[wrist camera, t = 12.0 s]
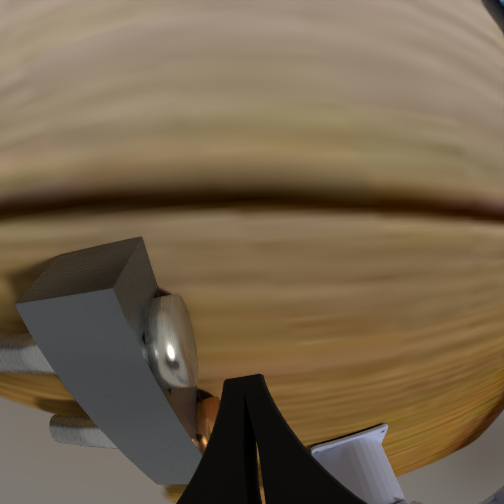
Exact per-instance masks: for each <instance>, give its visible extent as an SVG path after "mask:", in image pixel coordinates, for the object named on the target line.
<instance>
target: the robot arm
mask: <svg viewBox="0 0 504 504" xmlns="http://www.w3.org/2000/svg"><path fill="white" fill-rule="evenodd" d="M387 429H388V425H387V424H382V425H380V426H377V427H374V428H372V429H369V430H366V431H363V432H360V433H357V434H354V435H351V436H347V437H344V438H341V439H337V440H334V441H330V442H327V443H323V444H319V445H316V446H313V447H312V448H311V453H310V452H309V451H308V450H307V449H306V448H305V446H304V445H303V444H302V443H301V442H300V440H299V439H298V438H297V436H296V435H295V434H294V432H293V431H292V430H291V428H290V427H289V425H288V424H287V422H286V421H285V419H284V418H283V416H282V414H281V413H280V411H279V410H278V408H277V406H276V404H275V403H274V401H273V399H272V397H271V395H270V393H269V390H268V388H267V386H266V383H265V380H264V376H263V375H262V374H255V375H250V376H244V377H238V378H231V379H226V380H225V381H224V383H223V391H222V396H221V401H220V405H219V409H218V413H217V417H216V420H215V423H214V426H213V430H212V433H211V435H210V438H209V441H208V443H207V446H206V449H205V451H204V454H203V456H202V458H201V460H200V463H199V465H198V467H197V469H196V471H195V473H194V475H193V477H192V478H191V480H190V482H189V484H188V486H187V487H186V489H185V491H184V492H183V494H182V496H181V497H180V499H179V500H178V502H177V503H176V504H262V500H261V495H260V488H259V479H258V463H257V446H258V451H259V458H260V465H261V472H262V480H263V487H264V494H265V502H266V504H408V503H407V500H406V499H405V498H404V496H403V493H402V491H401V489H400V486H399V484H398V482H397V479H396V477H395V475H394V472H393V470H392V468H391V466H390V463H389V461H388V459H387V457H386V454H385V452H384V450H383V448H382V445H381V443H382V440H383V438H384V436H385V434H386V431H387ZM256 442H257V446H256ZM410 504H422V503H421V502H416V501H413V502H411V503H410ZM480 504H504V486H503V487H501V488H500V489H499V490H497V491H496V492H495V493H493V494H492V495H491V496H489V497H488V498H487V499H485V500H484V501H483V502H481V503H480Z"/></svg>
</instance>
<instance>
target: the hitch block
mask: <svg viewBox="0 0 504 504" xmlns="http://www.w3.org/2000/svg"><path fill="white" fill-rule="evenodd" d="M155 297H161V295H160V292H159V289H158V286H157V283H156V280H155V277H154V274H153V271H152V267H151V264H150V261H149V258H148V255H147V251H146V248H145V245H144V241H143V238H142V237H138V238H133V239H128V240H124V241H119V242H115V243H110V244H106V245H101V246H97V247H92V248H88V249H83V250H79V251H75V252H71V253H66V254H62V255H59V256H58V257H57V258H56V259H55V260H54V261H53V262H52V263H51V264H50V265H49V266H48V267H47V268H46V269H45V270H44V271H43V272H42V274H41V275H40V276H39V277H38V278H37V279H36V280H35V281H34V282H33V283H32V285H31V286H30V287H29V288H28V289H27V290H26V291H25V292H24V294H23V295H22V296H21V297H20V298H19V299H18V301H17V302H16V303H15V306H16V308H17V310H18V312H19V314H20V316H21V318H22V320H23V321H24V323H25V325H26V327H27V329H28V330H29V332H30V334H31V335H32V337H33V339H34V341H35V342H36V344H37V345H38V347H39V349H40V350H41V352H42V353H43V355H44V357H45V358H46V360H47V361H48V363H49V364H50V366H51V367H52V369H53V370H54V371H55V373H56V374H57V376H58V377H59V379H60V380H61V381H62V383H63V384H64V385H65V387H66V388H67V390H68V391H69V392H70V393H71V395H72V396H73V397H74V399H75V400H76V401H77V402H78V404H79V405H80V406H81V407H82V409H83V410H84V411H85V412H86V414H87V415H88V416H89V417H90V418H91V419H92V421H93V422H94V423H95V424H96V425H97V426H98V427H99V429H100V430H101V431H102V432H103V433H104V434H105V435H106V436H107V437H108V438H109V439H110V440H111V441H112V443H113V444H114V445H115V446H116V447H117V448H118V449H119V450H120V451H121V452H122V453H123V454H124V455H125V456H126V457H128V459H130V460H131V461H132V462H133V463H134V464H135V465H136V466H137V467H138V468H139V469H140V470H141V471H143V472H144V473H145V474H146V475H147V476H148V477H149V478H150V479H152V480H153V481H154V482H155V483H156V484H189V482H190V480H191V478H192V477H193V475H194V473H195V471H196V469H197V467H198V465H199V463H200V460H201V458H202V456H203V454H202V451H201V449H200V446H199V442H198V440H197V439H196V427H195V404H196V401H197V400H198V399H202V398H201V395H200V393H199V391H198V389H197V387H196V385H195V386H194V387H188V388H178V389H165V388H163V387H162V386H161V385H160V384H159V382H158V381H157V379H156V377H155V375H154V373H153V371H152V368H151V365H150V362H149V358H148V355H147V350H146V345H145V343H144V341H143V339H142V337H143V334H144V315H145V309H146V306H147V303H148V301H149V300H150V299H151V298H155Z"/></svg>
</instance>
